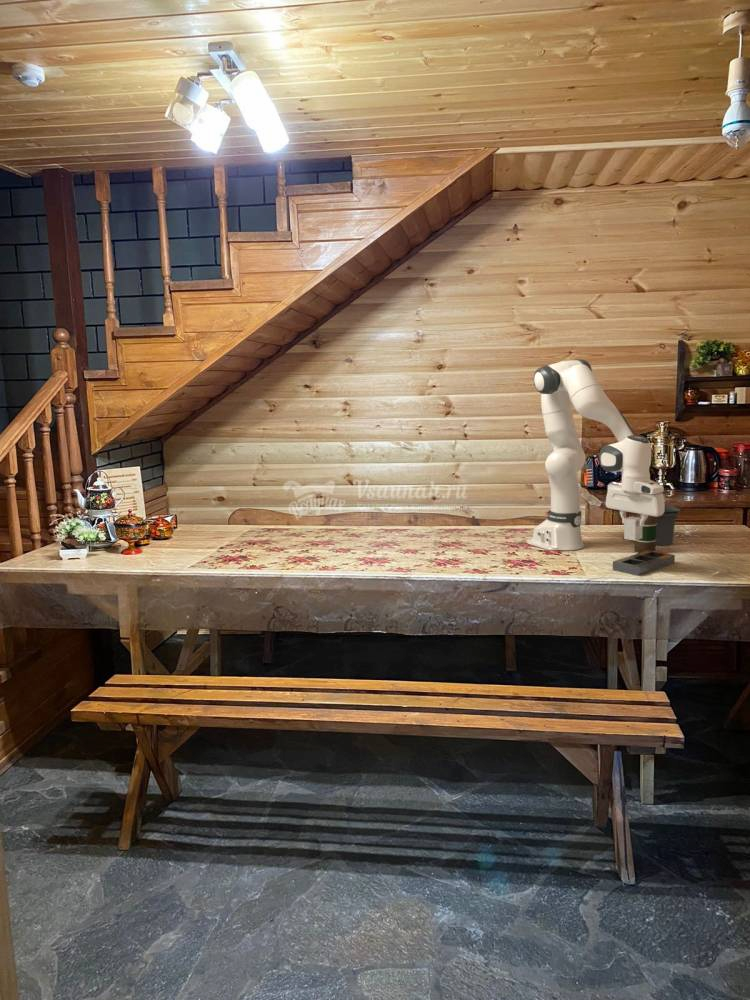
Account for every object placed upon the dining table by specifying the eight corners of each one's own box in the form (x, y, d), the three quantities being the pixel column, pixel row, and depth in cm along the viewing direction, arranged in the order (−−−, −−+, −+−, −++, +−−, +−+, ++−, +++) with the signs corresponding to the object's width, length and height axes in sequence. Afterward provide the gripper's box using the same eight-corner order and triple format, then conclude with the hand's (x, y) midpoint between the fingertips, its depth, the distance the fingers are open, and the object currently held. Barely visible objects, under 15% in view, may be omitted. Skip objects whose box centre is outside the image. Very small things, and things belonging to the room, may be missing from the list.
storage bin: (625, 536, 300) (626, 501, 298) (662, 534, 301) (663, 500, 298) (647, 548, 279) (648, 512, 277) (687, 546, 280) (688, 510, 277)
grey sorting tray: (612, 571, 251) (612, 561, 250) (648, 559, 264) (648, 549, 264) (638, 577, 243) (639, 566, 243) (674, 564, 256) (674, 554, 256)
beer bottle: (648, 555, 270) (650, 491, 265) (629, 551, 276) (631, 488, 272) (660, 551, 274) (662, 488, 270) (642, 547, 280) (643, 486, 276)
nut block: (624, 538, 248) (624, 518, 247) (631, 536, 251) (631, 516, 249) (635, 540, 245) (635, 520, 244) (642, 538, 247) (642, 517, 246)
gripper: (602, 481, 250) (600, 521, 253) (657, 490, 235) (655, 532, 237) (613, 479, 254) (611, 518, 257) (668, 487, 238) (665, 528, 241)
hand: (633, 525), depth 247 cm, fingers closed on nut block, 4 cm apart
